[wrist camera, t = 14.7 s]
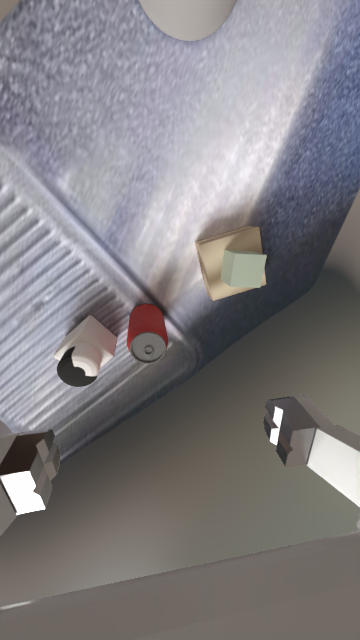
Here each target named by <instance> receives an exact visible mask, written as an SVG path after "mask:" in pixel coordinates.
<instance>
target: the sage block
mask: <svg viewBox="0 0 360 640" xmlns="http://www.w3.org/2000/svg"><path fill="white" fill-rule="evenodd" d="M266 257H267V255H265V254H261V253H258V252H255V251H244V250H224V255H223V263H222V271H221V278H220V279H221V280H222V281H223V282H224V283H226V284H227V285H228V286H229V287H251V288H260V287H261V282H262V277H263V272H264V267H265V262H266Z"/></svg>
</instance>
